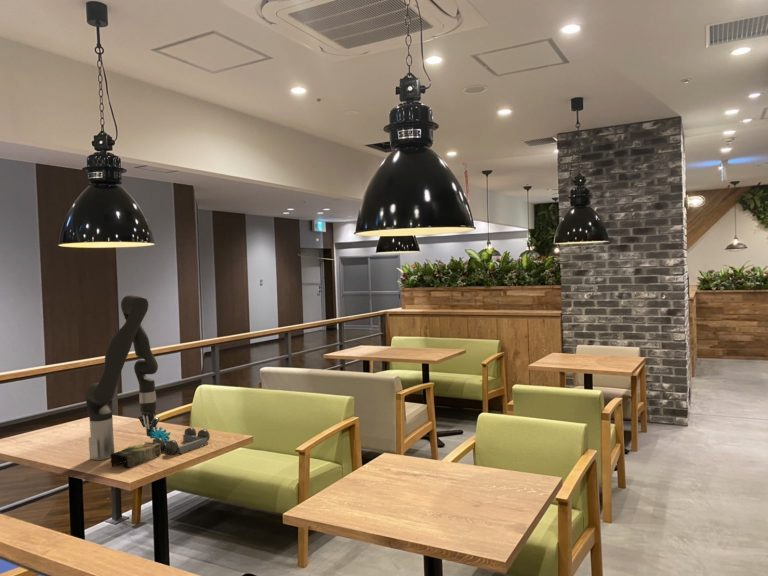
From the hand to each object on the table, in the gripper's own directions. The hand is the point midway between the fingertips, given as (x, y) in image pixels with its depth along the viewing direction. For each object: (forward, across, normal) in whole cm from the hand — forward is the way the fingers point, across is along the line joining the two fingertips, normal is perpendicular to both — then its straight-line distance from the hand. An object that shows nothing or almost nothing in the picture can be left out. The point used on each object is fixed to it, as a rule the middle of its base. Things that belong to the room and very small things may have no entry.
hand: (149, 436), depth 282 cm
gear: (+3, +8, 0) cm, 8 cm away
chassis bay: (+2, +22, 0) cm, 23 cm away
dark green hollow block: (+3, +19, -22) cm, 30 cm away
